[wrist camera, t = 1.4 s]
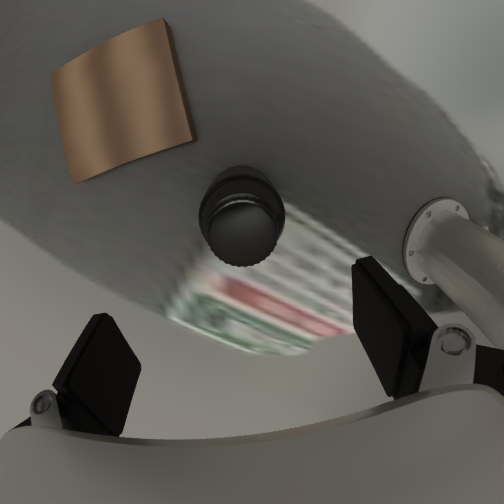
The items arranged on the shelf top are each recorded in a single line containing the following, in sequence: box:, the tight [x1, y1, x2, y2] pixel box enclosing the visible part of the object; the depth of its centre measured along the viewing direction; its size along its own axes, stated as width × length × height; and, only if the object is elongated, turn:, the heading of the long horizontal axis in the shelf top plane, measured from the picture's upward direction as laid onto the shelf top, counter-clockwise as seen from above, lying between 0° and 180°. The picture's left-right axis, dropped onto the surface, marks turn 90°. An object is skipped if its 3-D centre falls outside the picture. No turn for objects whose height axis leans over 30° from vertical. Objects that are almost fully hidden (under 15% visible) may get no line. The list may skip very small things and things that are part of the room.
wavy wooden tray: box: [51, 18, 197, 185], centre depth 22 cm, size 14×14×3 cm
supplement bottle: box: [199, 166, 285, 267], centre depth 23 cm, size 7×7×12 cm
